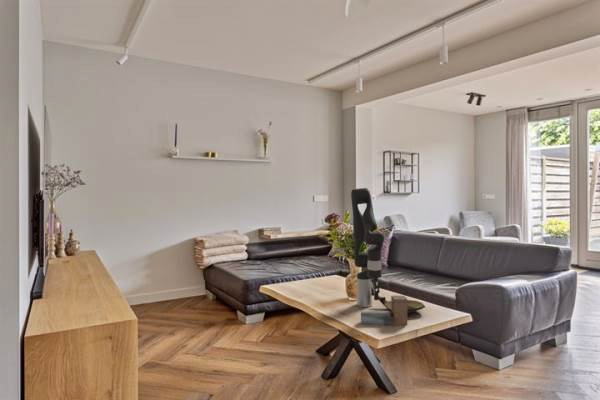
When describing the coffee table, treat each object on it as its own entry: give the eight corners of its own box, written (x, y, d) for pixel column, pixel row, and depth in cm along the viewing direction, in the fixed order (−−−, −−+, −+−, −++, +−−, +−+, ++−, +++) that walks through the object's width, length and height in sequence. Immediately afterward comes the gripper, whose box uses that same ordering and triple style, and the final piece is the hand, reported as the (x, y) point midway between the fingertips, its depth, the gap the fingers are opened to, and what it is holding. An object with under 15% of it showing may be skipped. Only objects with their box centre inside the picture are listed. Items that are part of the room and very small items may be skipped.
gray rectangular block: (360, 322, 217) (360, 311, 217) (390, 321, 217) (390, 311, 217) (361, 324, 213) (361, 313, 213) (391, 324, 213) (391, 313, 213)
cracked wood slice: (405, 321, 218) (405, 307, 218) (369, 307, 244) (369, 295, 244) (433, 314, 230) (433, 301, 229) (396, 302, 255) (396, 290, 255)
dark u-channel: (382, 320, 219) (382, 295, 219) (403, 320, 219) (403, 295, 219) (385, 325, 211) (384, 299, 211) (407, 325, 211) (407, 299, 211)
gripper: (365, 265, 221) (365, 294, 222) (369, 271, 207) (370, 301, 208) (378, 265, 221) (379, 294, 222) (384, 271, 207) (384, 301, 208)
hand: (374, 297), depth 215 cm, fingers open, 8 cm apart
